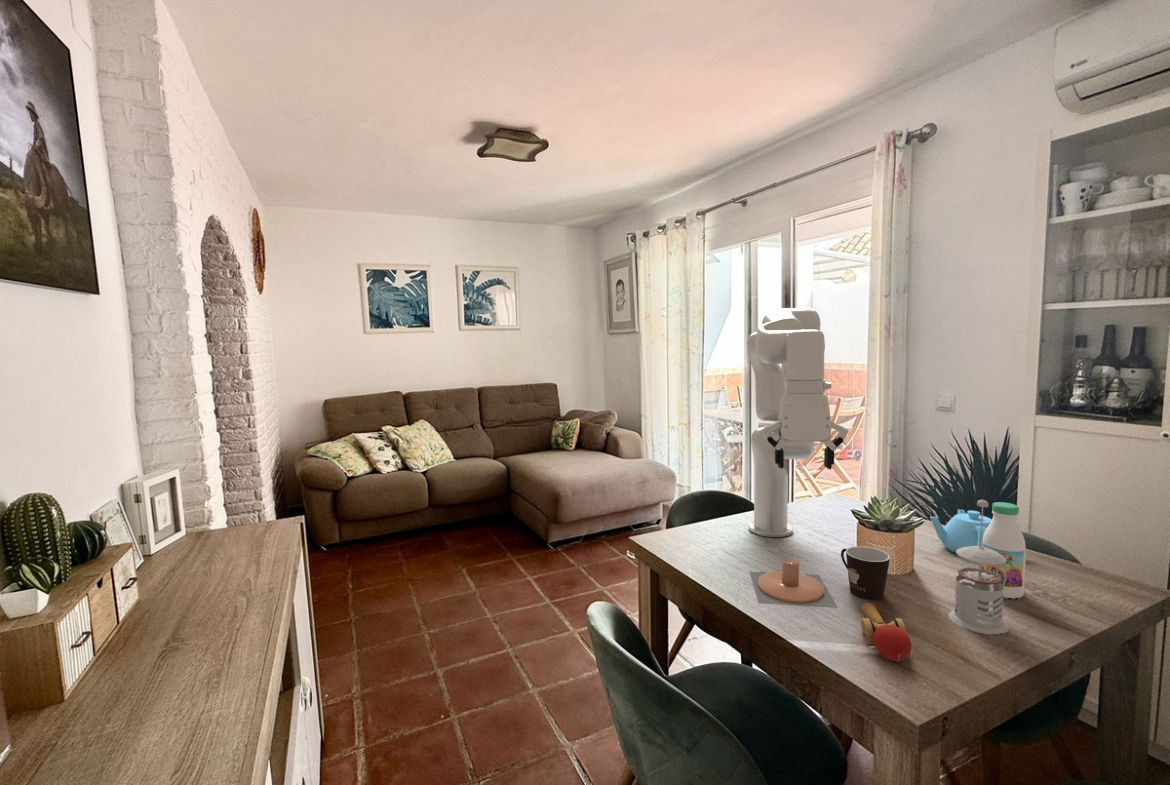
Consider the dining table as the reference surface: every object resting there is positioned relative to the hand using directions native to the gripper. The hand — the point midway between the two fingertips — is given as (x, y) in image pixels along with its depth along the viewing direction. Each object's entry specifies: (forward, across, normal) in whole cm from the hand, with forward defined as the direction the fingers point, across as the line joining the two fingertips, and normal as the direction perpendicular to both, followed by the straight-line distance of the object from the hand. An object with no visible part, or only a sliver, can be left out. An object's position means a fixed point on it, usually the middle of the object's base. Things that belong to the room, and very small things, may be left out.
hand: (804, 467), depth 115 cm
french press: (+30, -33, +4) cm, 45 cm away
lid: (+29, +2, -4) cm, 29 cm away
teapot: (+30, -50, -35) cm, 68 cm away
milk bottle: (+30, -44, -10) cm, 54 cm away
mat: (+30, +2, -4) cm, 30 cm away
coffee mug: (+30, -14, -6) cm, 34 cm away
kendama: (+31, -11, +13) cm, 35 cm away
